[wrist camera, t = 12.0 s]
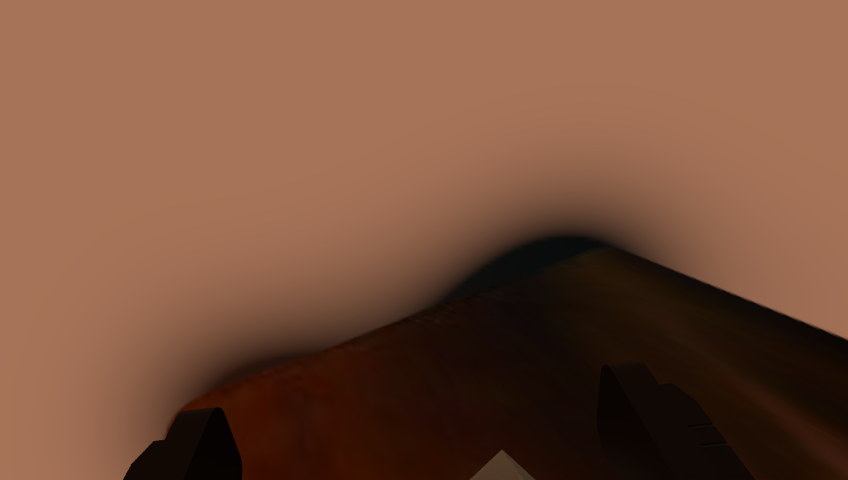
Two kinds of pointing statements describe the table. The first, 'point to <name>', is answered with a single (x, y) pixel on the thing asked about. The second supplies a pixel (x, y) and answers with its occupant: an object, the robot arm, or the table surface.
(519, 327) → the table surface
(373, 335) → the table surface
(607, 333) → the table surface
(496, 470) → the socket
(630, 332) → the table surface
